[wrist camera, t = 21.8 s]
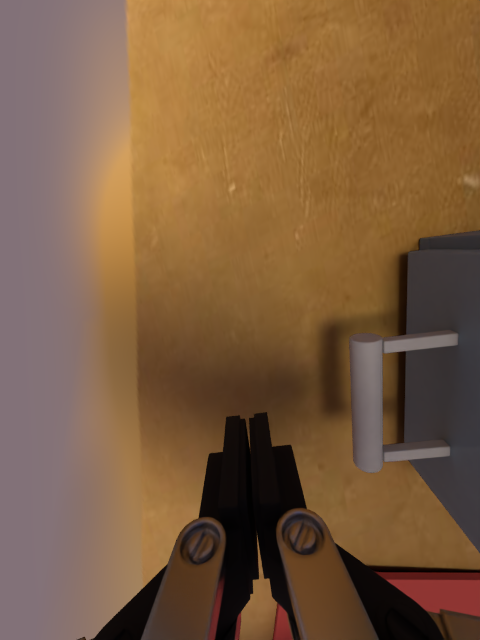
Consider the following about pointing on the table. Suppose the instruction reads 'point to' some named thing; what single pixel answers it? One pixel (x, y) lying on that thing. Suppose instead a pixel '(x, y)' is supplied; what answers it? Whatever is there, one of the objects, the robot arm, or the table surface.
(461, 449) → the drawer
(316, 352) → the table surface
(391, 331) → the table surface
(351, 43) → the table surface
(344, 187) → the table surface
